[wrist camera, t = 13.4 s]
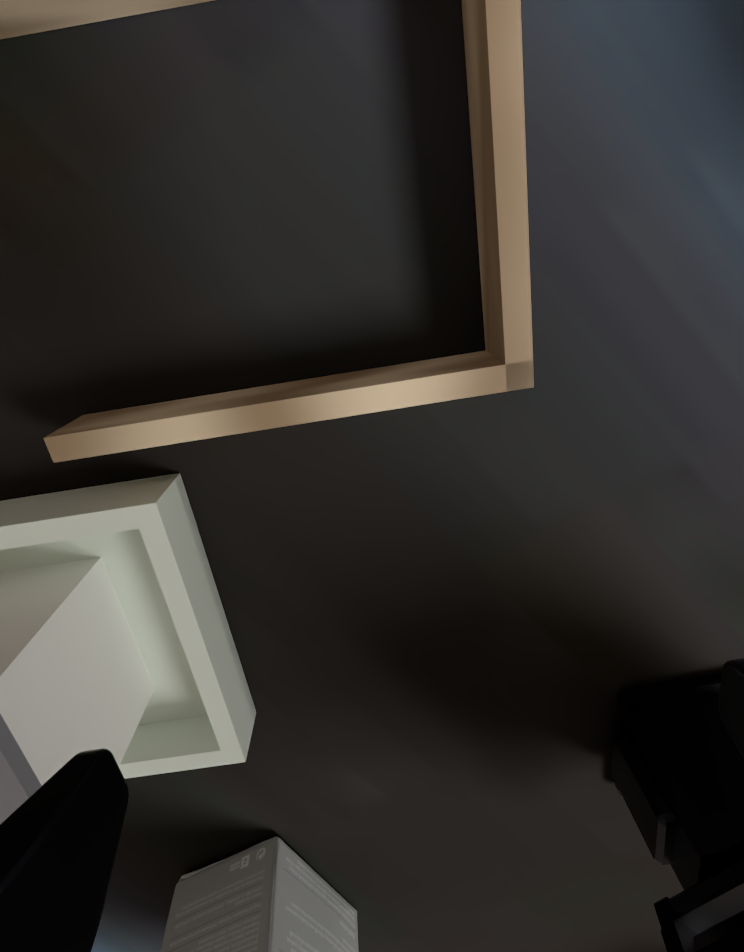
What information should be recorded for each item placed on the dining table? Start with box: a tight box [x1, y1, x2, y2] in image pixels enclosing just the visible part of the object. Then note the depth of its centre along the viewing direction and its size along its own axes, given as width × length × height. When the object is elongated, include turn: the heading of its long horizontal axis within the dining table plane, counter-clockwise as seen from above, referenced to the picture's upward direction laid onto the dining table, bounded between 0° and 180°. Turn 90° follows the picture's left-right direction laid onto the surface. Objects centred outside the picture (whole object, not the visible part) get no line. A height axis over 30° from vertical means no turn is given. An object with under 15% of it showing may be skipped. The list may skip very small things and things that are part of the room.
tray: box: [0, 473, 256, 779], centre depth 20 cm, size 12×12×2 cm
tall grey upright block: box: [0, 557, 155, 824], centre depth 17 cm, size 4×6×7 cm
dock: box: [0, 0, 534, 463], centre depth 15 cm, size 15×12×2 cm
